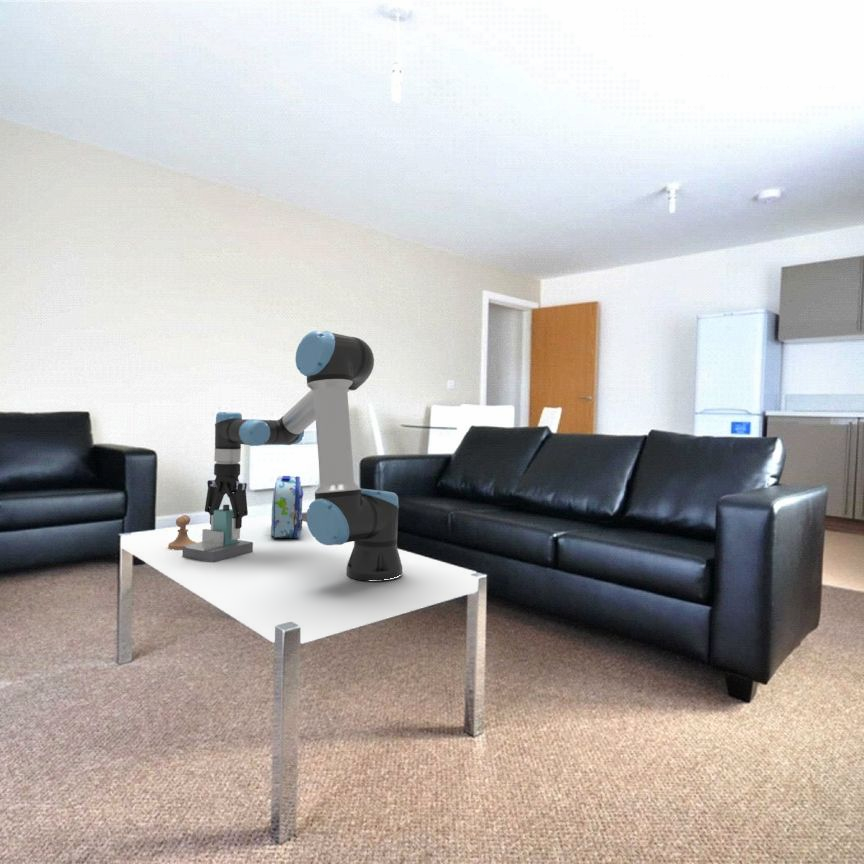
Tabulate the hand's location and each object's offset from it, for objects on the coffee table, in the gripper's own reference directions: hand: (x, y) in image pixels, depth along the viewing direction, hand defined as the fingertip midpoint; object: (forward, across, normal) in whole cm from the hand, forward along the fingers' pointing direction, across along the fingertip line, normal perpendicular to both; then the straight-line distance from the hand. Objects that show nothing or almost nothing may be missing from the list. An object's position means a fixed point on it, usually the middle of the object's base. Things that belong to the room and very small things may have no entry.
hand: (225, 537), depth 177 cm
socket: (+5, 0, +2) cm, 5 cm away
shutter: (+2, 0, +8) cm, 8 cm away
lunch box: (+5, +4, -34) cm, 34 cm away
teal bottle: (+5, 0, 0) cm, 5 cm away
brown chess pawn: (+5, +16, +2) cm, 17 cm away
